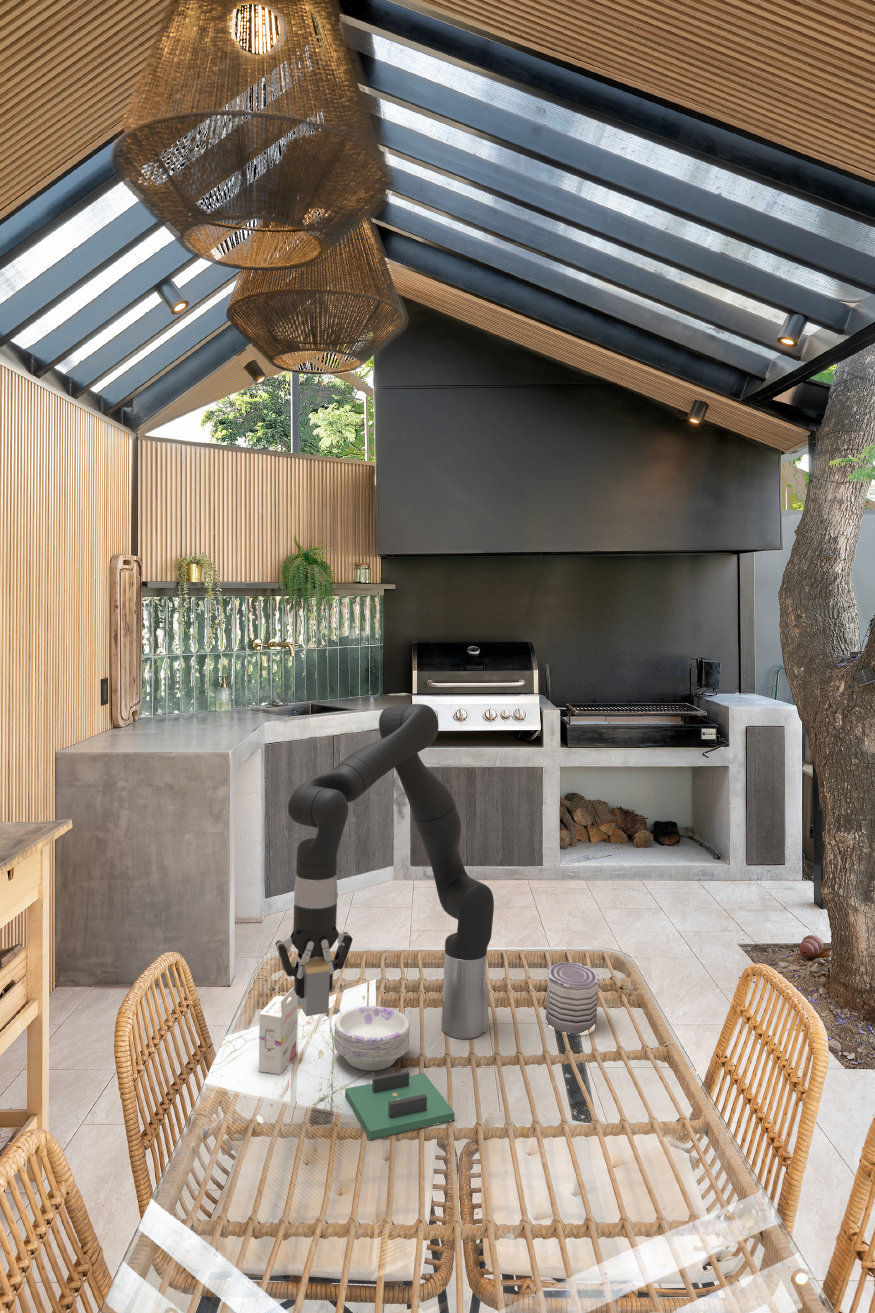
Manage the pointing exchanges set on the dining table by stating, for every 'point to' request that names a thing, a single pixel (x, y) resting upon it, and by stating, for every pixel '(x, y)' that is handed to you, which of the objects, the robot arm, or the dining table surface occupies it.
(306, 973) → the block
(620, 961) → the dining table surface
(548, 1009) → the can
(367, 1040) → the paper bowls
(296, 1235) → the dining table surface
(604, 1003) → the dining table surface
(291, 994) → the ink cartridge box
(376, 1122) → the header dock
